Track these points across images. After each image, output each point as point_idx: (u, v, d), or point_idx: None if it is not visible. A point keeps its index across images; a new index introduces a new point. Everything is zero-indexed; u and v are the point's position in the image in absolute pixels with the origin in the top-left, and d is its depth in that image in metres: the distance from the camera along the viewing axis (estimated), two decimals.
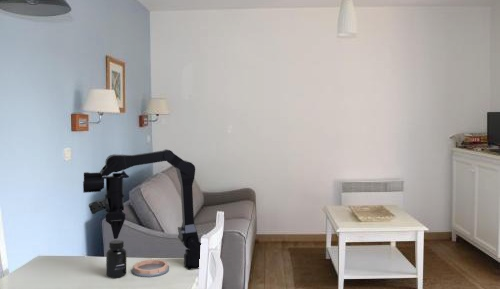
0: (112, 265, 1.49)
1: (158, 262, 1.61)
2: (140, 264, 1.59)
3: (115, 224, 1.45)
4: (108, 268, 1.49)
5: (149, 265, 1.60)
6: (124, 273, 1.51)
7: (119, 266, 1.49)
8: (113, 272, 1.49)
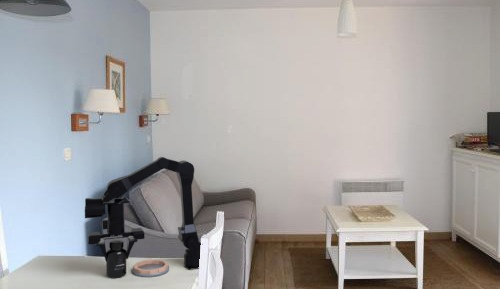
0: (112, 265, 1.49)
1: (158, 262, 1.61)
2: (140, 264, 1.59)
3: None
4: (108, 268, 1.49)
5: (149, 265, 1.60)
6: (124, 273, 1.51)
7: (119, 266, 1.49)
8: (113, 271, 1.49)
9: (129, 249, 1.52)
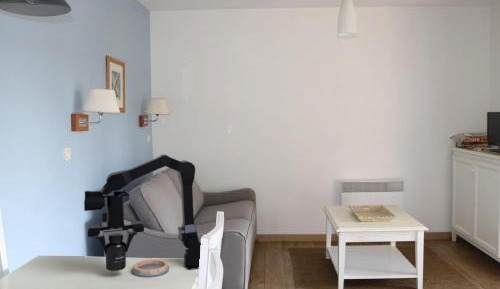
0: (112, 258, 1.48)
1: (158, 262, 1.61)
2: (140, 264, 1.59)
3: None
4: (107, 261, 1.49)
5: (149, 265, 1.60)
6: (123, 266, 1.51)
7: (118, 259, 1.49)
8: (113, 264, 1.49)
9: (128, 242, 1.51)
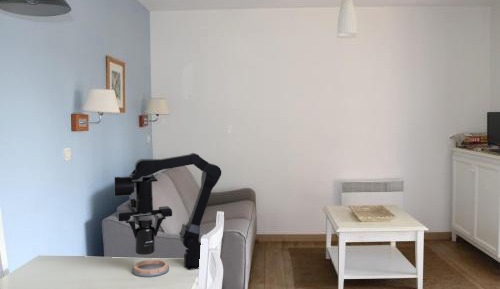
0: (142, 242, 1.52)
1: (158, 262, 1.61)
2: (140, 264, 1.59)
3: None
4: (138, 245, 1.53)
5: (149, 265, 1.60)
6: (153, 250, 1.54)
7: (148, 243, 1.53)
8: (143, 248, 1.52)
9: (157, 226, 1.55)
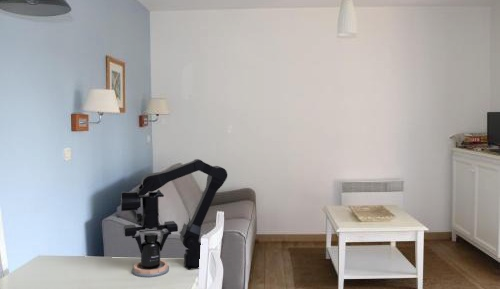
0: (147, 257, 1.53)
1: None
2: (140, 264, 1.59)
3: None
4: (143, 260, 1.54)
5: None
6: (158, 265, 1.55)
7: (153, 258, 1.54)
8: (148, 263, 1.53)
9: (163, 241, 1.56)
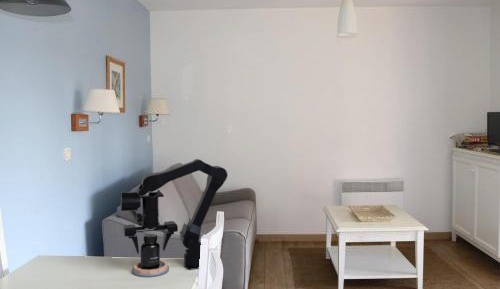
0: (147, 258, 1.53)
1: None
2: (140, 264, 1.59)
3: None
4: (143, 261, 1.54)
5: None
6: (158, 266, 1.56)
7: (153, 259, 1.54)
8: (148, 264, 1.53)
9: (166, 241, 1.56)
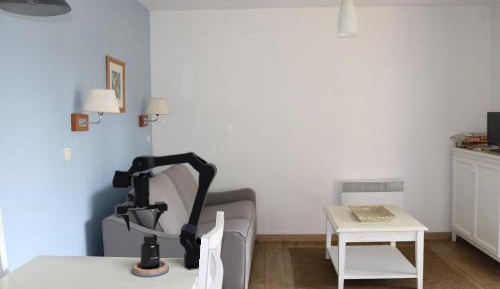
0: (147, 258, 1.53)
1: None
2: (140, 264, 1.59)
3: None
4: (143, 261, 1.54)
5: None
6: (158, 266, 1.56)
7: (153, 259, 1.54)
8: (148, 264, 1.53)
9: (156, 220, 1.63)
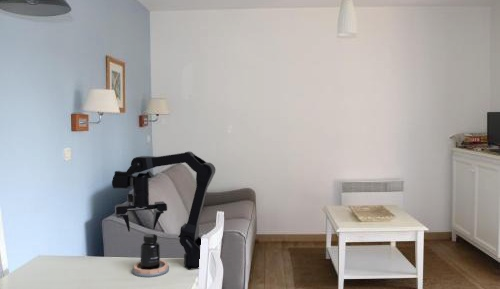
0: (147, 258, 1.53)
1: None
2: (140, 264, 1.59)
3: None
4: (143, 261, 1.54)
5: None
6: (158, 266, 1.56)
7: (153, 259, 1.54)
8: (148, 264, 1.53)
9: (156, 220, 1.64)
